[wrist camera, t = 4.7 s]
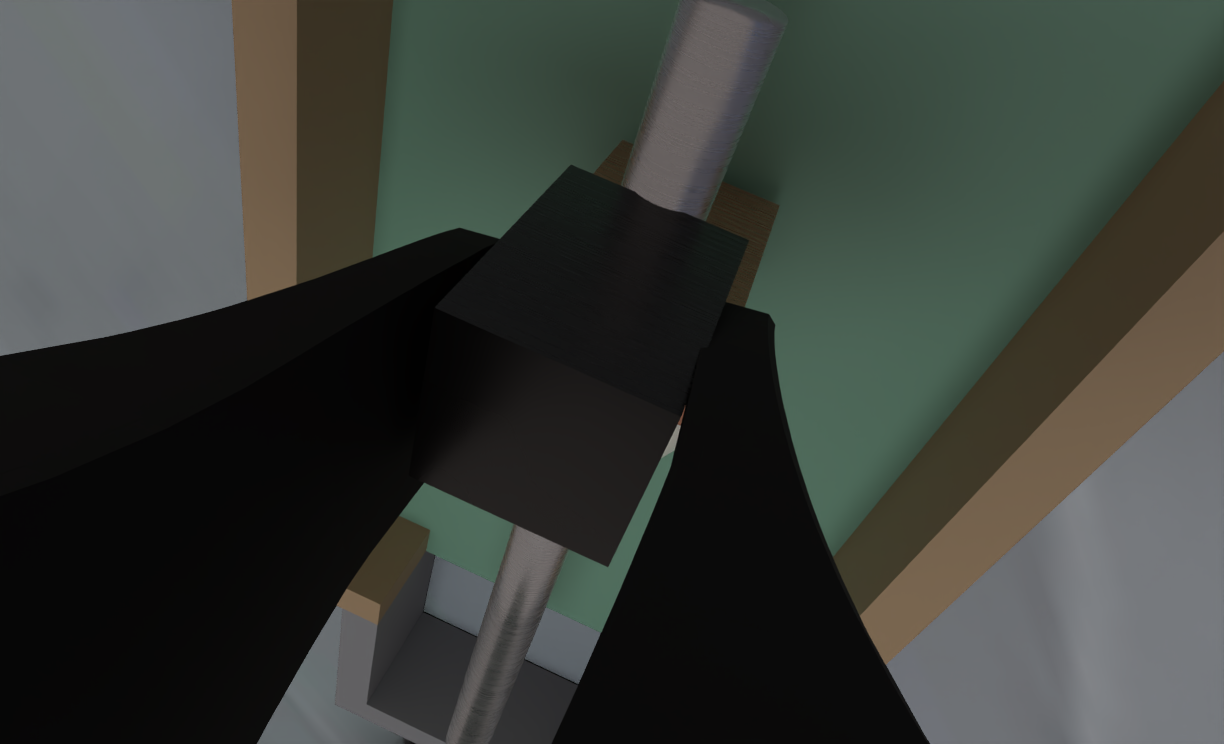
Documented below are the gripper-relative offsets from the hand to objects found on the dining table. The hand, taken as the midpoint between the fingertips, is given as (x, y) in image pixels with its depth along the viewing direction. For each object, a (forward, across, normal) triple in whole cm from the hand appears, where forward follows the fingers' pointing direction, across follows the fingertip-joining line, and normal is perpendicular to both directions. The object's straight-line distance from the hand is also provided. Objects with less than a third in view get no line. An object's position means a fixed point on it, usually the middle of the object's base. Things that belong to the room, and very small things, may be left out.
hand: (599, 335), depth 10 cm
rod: (+6, +1, +6) cm, 8 cm away
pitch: (+7, +1, +9) cm, 12 cm away
